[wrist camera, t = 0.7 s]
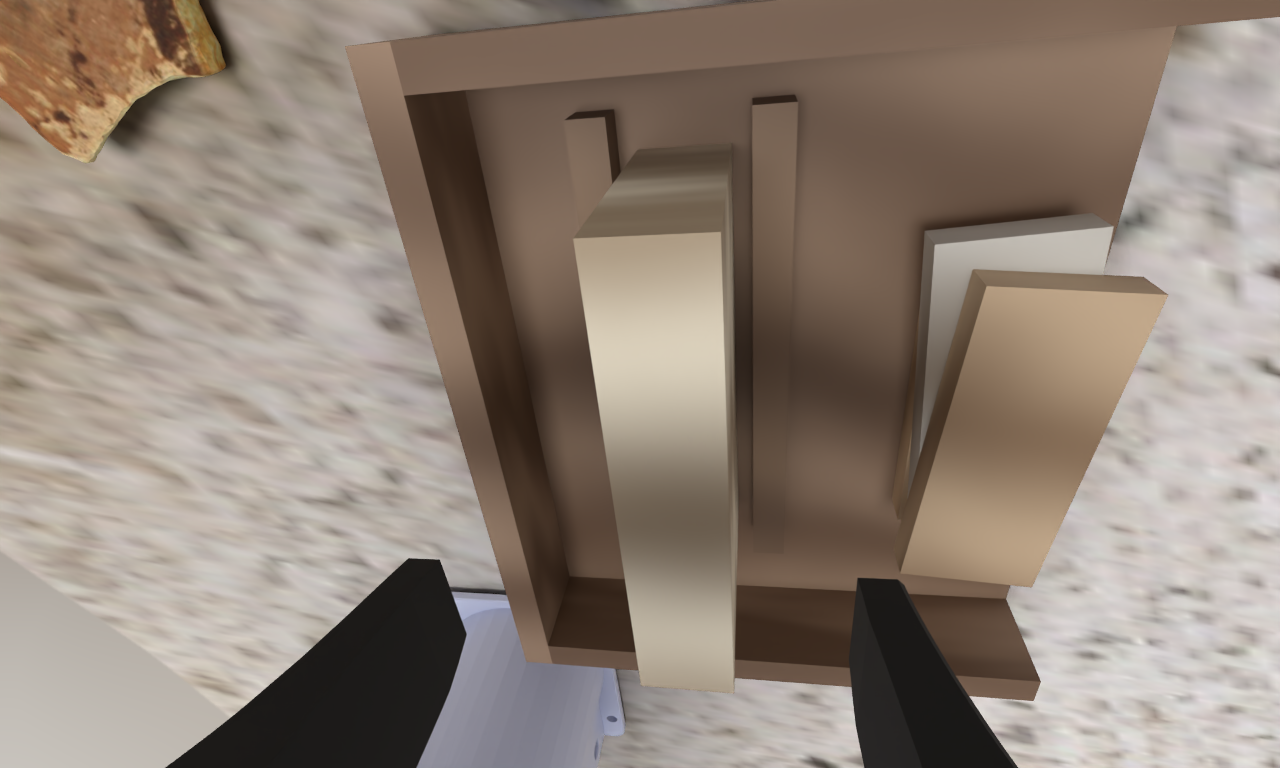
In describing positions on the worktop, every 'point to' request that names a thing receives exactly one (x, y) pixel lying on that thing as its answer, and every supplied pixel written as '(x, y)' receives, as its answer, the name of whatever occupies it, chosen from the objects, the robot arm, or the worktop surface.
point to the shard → (96, 62)
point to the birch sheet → (670, 403)
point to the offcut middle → (988, 247)
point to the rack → (747, 270)
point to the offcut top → (1020, 419)
